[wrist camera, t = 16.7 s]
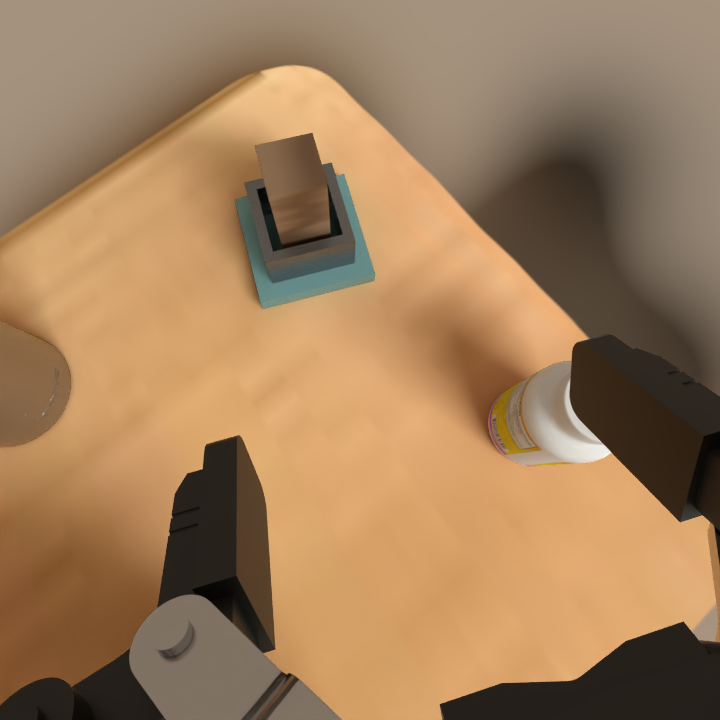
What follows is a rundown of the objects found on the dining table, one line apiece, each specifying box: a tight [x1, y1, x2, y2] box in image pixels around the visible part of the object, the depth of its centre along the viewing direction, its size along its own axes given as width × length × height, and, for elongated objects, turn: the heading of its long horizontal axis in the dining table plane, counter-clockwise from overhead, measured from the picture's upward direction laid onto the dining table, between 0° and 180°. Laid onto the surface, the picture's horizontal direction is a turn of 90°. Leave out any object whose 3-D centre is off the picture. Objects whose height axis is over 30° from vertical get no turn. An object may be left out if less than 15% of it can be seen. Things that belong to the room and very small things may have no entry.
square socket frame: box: [245, 163, 356, 283], centre depth 40 cm, size 7×7×4 cm
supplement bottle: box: [488, 361, 612, 466], centre depth 34 cm, size 7×7×13 cm
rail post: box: [255, 133, 331, 249], centre depth 37 cm, size 4×4×10 cm
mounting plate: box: [235, 174, 375, 309], centre depth 43 cm, size 10×10×2 cm
